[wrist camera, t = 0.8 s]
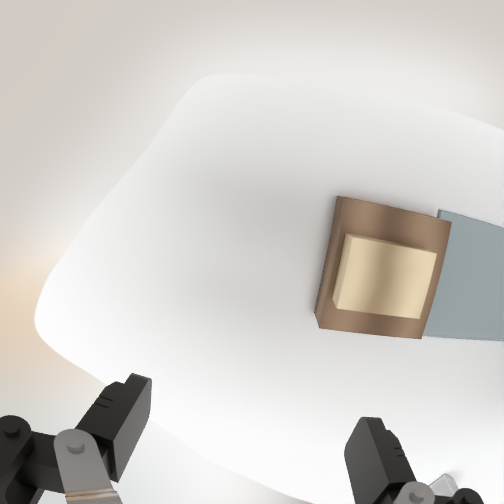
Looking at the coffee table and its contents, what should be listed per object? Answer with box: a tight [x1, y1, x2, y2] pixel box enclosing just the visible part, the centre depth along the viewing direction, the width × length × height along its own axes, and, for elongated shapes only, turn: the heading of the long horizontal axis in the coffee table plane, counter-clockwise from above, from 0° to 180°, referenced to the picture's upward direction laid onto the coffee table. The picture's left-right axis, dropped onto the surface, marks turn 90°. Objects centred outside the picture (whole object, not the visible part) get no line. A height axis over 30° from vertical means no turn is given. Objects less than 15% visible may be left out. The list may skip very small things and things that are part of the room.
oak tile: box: [332, 233, 437, 319], centre depth 26 cm, size 8×6×2 cm
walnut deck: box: [314, 196, 452, 339], centre depth 29 cm, size 11×12×4 cm
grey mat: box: [422, 210, 504, 341], centre depth 31 cm, size 17×14×1 cm
